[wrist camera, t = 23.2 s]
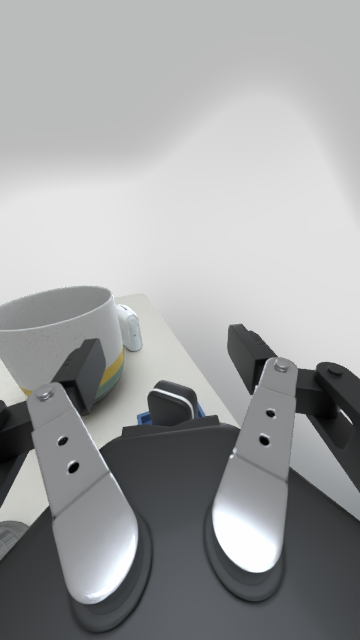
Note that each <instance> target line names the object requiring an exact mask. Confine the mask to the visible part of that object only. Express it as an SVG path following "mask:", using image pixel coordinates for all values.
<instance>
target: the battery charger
mask: <svg viewBox="0 0 360 640" xmlns="http://www.w3.org/2000/svg"><path fill="white" fill-rule="evenodd" d="M147 399H148V407H149V413H150V417H151V421H152V425H159V426H167V427H172V426H175V425H177V424H180V423H183V422H185V421H188V420H190V419H193V418H197V416H198V404H197V396H196V394H195V392H194V391H193V390H192V389H191V388H188V387H185V386H182V385H179V384H176V383H172V382H169V381H165V380H161V381H159V382H158V383H157V384H156V385H155V386H154V388H153V389H152V390H151V391H150V392H149V395H148V398H147Z"/></svg>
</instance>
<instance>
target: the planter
mask: <svg viewBox="0 0 360 640" xmlns="http://www.w3.org/2000/svg"><path fill="white" fill-rule="evenodd" d="M93 338H99V339H100V342H101V345H102V348H103V352H104V355H105V359H106V368H105V371H104V374H103V377H102V380H101V383H100V385H99V388H98V391H97V394H96V397H95V400H94V402H93V404H95V403H96V402H98V401H100V400H101V399H102V398H104V397H105V396H106V395H107V394H108V393H109V392H110V391H111V390H112V389H113V388H114V387H115V385H116V384H117V382H118V380H119V378H120V376H121V374H122V370H123V364H124V349H123V343H122V337H121V331H120V326H119V321H118V316H117V311H116V307H115V302H114V298H113V294H112V292H111V291H110V290H109V289H107V288H104V287H98V286H74V287H65V288H58V289H53V290H48V291H43V292H39V293H35V294H31V295H28V296H24V297H21V298H18V299H15V300H13V301H10V302H8V303H5V304H3V305H1V306H0V358H1V360H2V361H3V363H4V364H5V366H6V368H7V369H8V371H9V372H10V374H11V375H12V377H13V378H14V380H15V381H16V383H17V384H18V385H19V387H20V388H21V389H22V391H23V392H24V393H25V394H26V395H27V396H29V395H30V394H31V393H32V392H33V391H34V390H36V389H37V388H39V387H40V386H43V385H45V384H48V383H50V382H51V381H52V379H53V378H54V376H55V375H56V373H57V372H58V370H59V369H60V367H61V366H62V364H63V363H64V361H65V360H66V358H67V357H68V355H69V354H70V353H71V352H72V351H74V350H75V349H76V348H80V346H81V345H82V343H83V341H84V340H85V339H93Z"/></svg>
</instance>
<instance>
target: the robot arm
mask: <svg viewBox="0 0 360 640" xmlns="http://www.w3.org/2000/svg"><path fill="white" fill-rule="evenodd" d="M227 346H228V347H227V348H228V353H229V356H230V358H231V360H232V362H233V363H234V365H235V367H236V369H237V371H238V373H239V375H240V376H241V378H242V380H243V382H244V384H245V386H246V388H247V390H248V391H249V393H250V395H253V396H252V399H251V402H250V405H249V407H248V410H247V413H246V416H245V419H244V422H243V425H242V427H241V429H239V428H237V427H235V426H232V425H229V424H225V423H220V422H219V419H218V416H217V415H212V416H205V417H197V418H193V419H190V420H188V421H185V422H183V423H180V424H177V425H175V426H172V427H167V426H159V425H150V424H144V425H136V426H128V427H123V430H122V436H120V437H117V438H115V439H113V440H112V441H110V442H108V443H107V444H106V445H104V446H103V447H102V448H101V449H99V450H98V448H97V446H96V445H95V443H94V441H93V439H92V437H91V436H90V434H89V432H88V430H87V428H86V426H85V425H84V423H83V421H82V419H81V417H80V416H83V415H89V414H90V411H91V408H92V405H93V402H94V400H95V397H96V394H97V391H98V388H99V385H100V383H101V380H102V377H103V374H104V371H105V368H106V359H105V355H104V352H103V348H102V345H101V342H100V339H99V338H93V339H85V340H84V341H83V343H82V345H81V346H80V348H76V349H75V350H74V351H72V352H71V353H70V354H69V355H68V357H67V358H66V360H65V361H64V363H63V364H62V366H61V367H60V369H59V370H58V372H57V373H56V375H55V376H54V378H53V379H52V381H51V382H50V383H48V384H45V385H43V386H40V387H39V388H37V389H36V390H34V391H33V392H32V393H31V394H30V395H29V396H28V398H27V401H24V402H21V403H18V404H15V405H12V406H9V407H7V406H6V404H5V403H4V401H2V400H0V508H1V506H2V504H3V502H4V500H5V498H6V496H7V494H8V492H9V490H10V488H11V486H12V484H13V482H14V480H15V478H16V476H17V474H18V472H19V470H20V468H21V466H22V464H23V462H24V460H25V458H26V456H27V454H28V452H29V451H30V450H32V449H35V451H36V454H37V458H38V462H39V466H40V470H41V474H42V478H43V482H44V486H45V490H46V493H47V497H48V501H49V506H48V507H47V508H46V509H45V511H44V512H43V513H42V514H41V515H40V516H39V517H38V518H37V520H36V521H35V522H34V523H33V524H32V525H31V526H30V527H29V529H28V530H27V531H26V532H25V533H24V534H23V535H22V536H21V538H20V539H19V540H18V541H17V542H16V543H15V544H14V545H13V547H12V548H11V549H10V550H9V551H8V552H7V553H6V554H5V556H4V557H3V558H2V559H1V560H0V640H360V521H359V520H358V519H356V518H355V517H354V516H353V515H351V514H350V513H349V512H347V511H346V510H345V509H344V508H342V507H341V506H340V505H338V504H337V503H336V502H335V501H333V500H332V499H331V498H329V497H328V496H327V495H326V494H324V493H323V492H322V491H320V490H319V489H318V488H316V487H315V486H314V485H313V484H311V483H310V482H309V481H308V480H306V479H305V478H304V477H302V476H301V475H300V474H298V473H297V472H296V471H295V470H293V469H292V468H291V467H290V466H289V464H290V454H291V445H292V436H293V427H294V418H295V413H301V414H306V416H307V417H308V419H309V420H310V422H311V423H312V425H313V426H314V427H315V429H316V430H317V432H318V433H319V435H320V436H321V438H322V439H323V440H324V442H325V443H326V445H327V446H328V448H329V449H330V450H331V452H332V453H333V455H334V456H335V458H336V459H337V461H338V462H339V463H340V465H341V466H342V468H343V469H344V471H345V472H346V474H347V475H348V476H349V478H350V479H351V481H352V482H353V484H354V485H355V487H356V488H357V489H358V491H359V492H360V379H359V378H358V377H357V376H355V375H354V374H353V373H352V372H351V371H349V370H348V369H347V368H345V367H343V366H341V365H338V364H335V363H331V362H321V363H319V364H318V365H317V366H316V370H307V369H299V368H297V366H296V365H295V364H294V363H293V362H291V361H290V360H287V359H285V358H279V357H278V356H277V355H276V354H275V353H274V352H273V351H272V350H271V349H270V348H269V346H268V345H266V343H265V342H264V341H263V340H262V339H261V337H260V336H259V335H258V334H256V333H254V332H253V331H248V330H247V329H246V328H245V327H244V326H243V324H235V325H230V326H229V329H228V344H227ZM341 409H342V410H343V411H344V413H345V414H346V415H347V416H348V417H349V418H350V420H351V421H352V423H353V425H352V424H351V423H350V422H349V421H348V419H347V418H346V417H345V416H344V415H343V414H342V413H341V411H340V410H341Z"/></svg>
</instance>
